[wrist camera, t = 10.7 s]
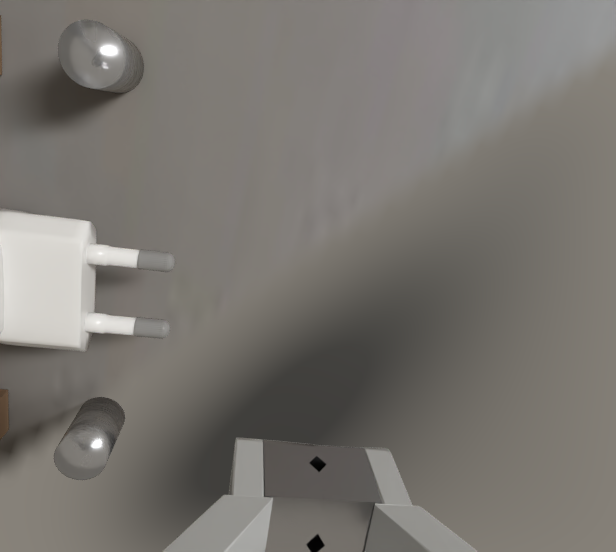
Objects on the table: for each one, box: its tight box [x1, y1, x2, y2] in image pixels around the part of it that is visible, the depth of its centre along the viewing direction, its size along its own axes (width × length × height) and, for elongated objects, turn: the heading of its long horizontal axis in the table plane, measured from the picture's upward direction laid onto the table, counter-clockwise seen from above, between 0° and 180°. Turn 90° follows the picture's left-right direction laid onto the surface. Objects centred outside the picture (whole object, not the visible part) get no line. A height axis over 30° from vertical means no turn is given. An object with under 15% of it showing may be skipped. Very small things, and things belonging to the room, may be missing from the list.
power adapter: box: [0, 208, 175, 351], centre depth 18 cm, size 11×5×6 cm, turn 82°
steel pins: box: [54, 20, 144, 480], centre depth 20 cm, size 2×17×3 cm, turn 171°
